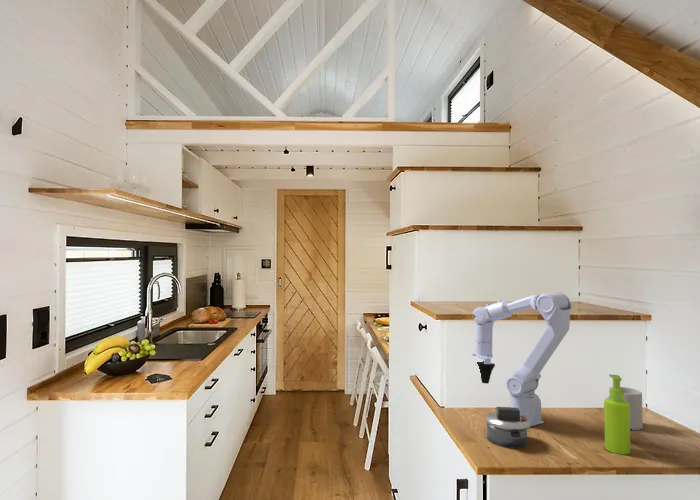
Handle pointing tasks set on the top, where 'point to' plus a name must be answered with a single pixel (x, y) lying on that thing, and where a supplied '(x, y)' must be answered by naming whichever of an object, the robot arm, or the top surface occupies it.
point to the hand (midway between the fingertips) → (483, 379)
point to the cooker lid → (508, 419)
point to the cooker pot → (506, 437)
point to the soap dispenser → (617, 419)
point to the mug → (634, 407)
